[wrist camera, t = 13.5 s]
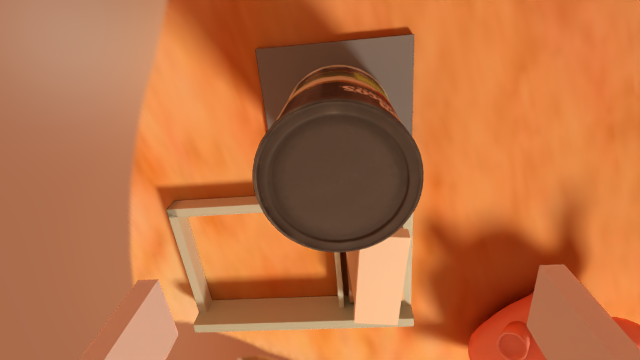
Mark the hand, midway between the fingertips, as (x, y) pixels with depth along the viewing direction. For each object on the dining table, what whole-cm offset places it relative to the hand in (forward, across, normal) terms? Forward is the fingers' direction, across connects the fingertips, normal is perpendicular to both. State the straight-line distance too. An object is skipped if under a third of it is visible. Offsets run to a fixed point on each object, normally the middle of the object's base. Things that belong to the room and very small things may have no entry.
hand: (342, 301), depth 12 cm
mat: (+24, 0, 0) cm, 24 cm away
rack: (+24, -6, -16) cm, 30 cm away
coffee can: (+24, 0, 0) cm, 24 cm away
